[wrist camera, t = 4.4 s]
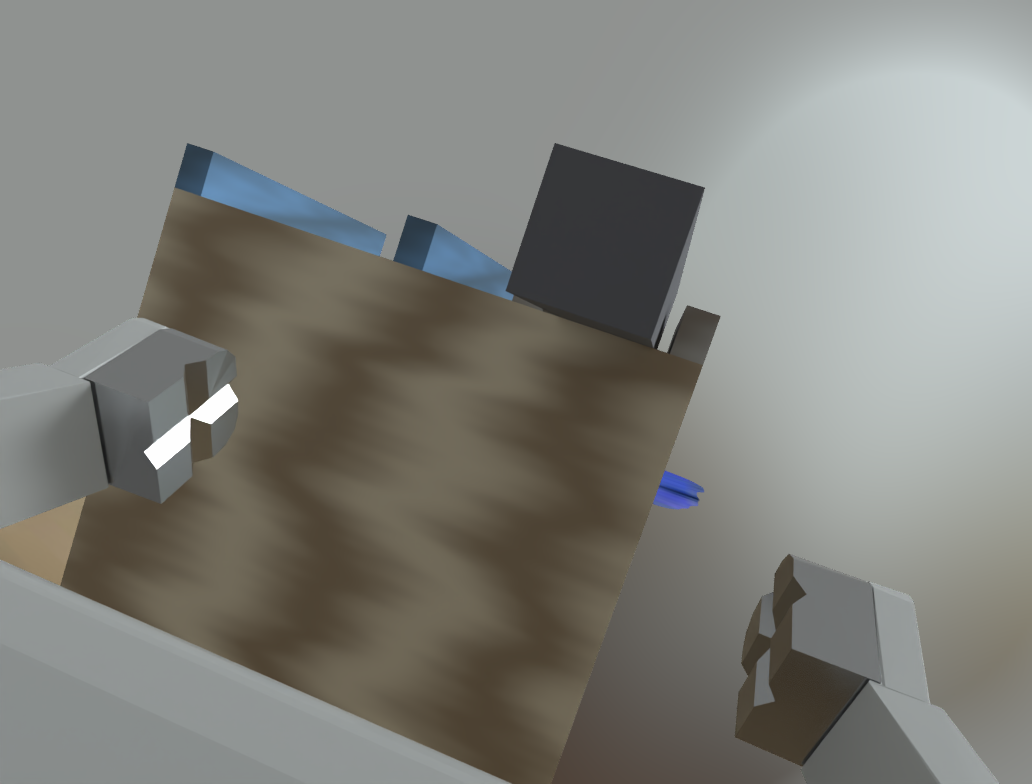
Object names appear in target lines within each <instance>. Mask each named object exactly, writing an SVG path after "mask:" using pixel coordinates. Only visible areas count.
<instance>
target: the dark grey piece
mask: <svg viewBox="0 0 1032 784" xmlns="http://www.w3.org/2000/svg"><path fill="white" fill-rule="evenodd" d="M704 189H705V188H704V187H701V186H697V185H694V184H691V183H687V182H684V181H681V180H677V179H674V178H670V177H667V176H664V175H660V174H657V173H654V172H650V171H647V170H644V169H640V168H637V167H634V166H630V165H627V164H623V163H620V162H617V161H613V160H610V159H607V158H603V157H600V156H596V155H593V154H590V153H586V152H583V151H579V150H576V149H573V148H570V147H566V146H563V145H559V144H556V143H555V144H554V147H553V150H552V153H551V156H550V160H549V162H548V165H547V168H546V171H545V174H544V177H543V180H542V183H541V186H540V189H539V192H538V195H537V198H536V201H535V204H534V207H533V210H532V213H531V216H530V219H529V222H528V225H527V228H526V231H525V234H524V237H523V240H522V243H521V246H520V249H519V252H518V255H517V258H516V261H515V264H514V267H513V270H512V273H511V276H510V279H509V282H508V285H507V288H506V292H509V293H511V294H513V295H515V296H517V297H519V298H521V299H523V300H525V301H527V302H529V303H531V304H533V305H535V306H538V307H540V308H542V309H544V310H546V311H548V312H550V313H552V314H554V315H556V316H558V317H561V318H564V319H567V320H570V321H573V322H576V323H579V324H582V325H585V326H588V327H591V328H594V329H597V330H600V331H603V332H606V333H609V334H612V335H615V336H618V337H621V338H624V339H627V340H630V341H633V342H636V343H639V344H642V345H644V346H647V347H650V348H653V349H656V350H657V348H658V345H659V342H660V340H661V337H662V334H663V331H664V328H665V326H666V323H667V320H668V317H669V314H670V312H671V309H672V306H673V303H674V300H675V298H676V294H677V291H678V288H679V284H680V280H681V277H682V273H683V269H684V265H685V261H686V258H687V253H688V250H689V246H690V242H691V239H692V235H693V231H694V227H695V223H696V220H697V216H698V212H699V208H700V204H701V201H702V197H703V193H704Z"/></svg>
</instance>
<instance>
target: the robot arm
mask: <svg viewBox="0 0 1032 784" xmlns="http://www.w3.org/2000/svg"><path fill="white" fill-rule="evenodd" d="M236 376H237V370H236V359H235V356H234V355H233V354H232V353H230V352H229V351H228V350H226V349H223V348H221V347H218V346H216V345H213V344H211V343H208V342H206V341H203V340H200V339H198V338H195V337H193V336H190V335H188V334H185V333H183V332H180V331H177V330H175V329H172V328H168V327H166V326H163V325H160V324H158V323H155V322H153V321H150V320H148V319H145V318H131V319H129V320H127V321H125V322H124V323H122V324H120V325H119V326H117V327H115V328H114V329H112V330H110V331H108V332H107V333H105V334H103V335H102V336H100V337H98V338H96V339H95V340H93V341H91V342H90V343H88V344H86V345H84V346H83V347H81V348H79V349H77V350H76V351H74V352H73V353H71V354H69V355H68V356H66V357H64V358H62V359H61V360H59V361H57V362H55V363H54V364H52V365H50V366H48V365H45V364H42V363H36V364H29V365H23V366H17V367H11V368H5V369H0V529H1V528H4V527H6V526H9V525H12V524H14V523H17V522H20V521H22V520H25V519H27V518H30V517H33V516H35V515H38V514H41V513H43V512H46V511H48V510H51V509H54V508H56V507H59V506H62V505H64V504H67V503H69V502H72V501H75V500H77V499H80V498H83V497H85V496H88V495H90V494H93V493H96V492H98V491H101V490H104V489H106V488H108V487H109V485H112V486H114V487H117V488H120V489H122V490H125V491H128V492H130V493H133V494H136V495H138V496H141V497H144V498H147V499H149V500H152V501H155V502H157V503H160V504H162V503H163V502H164V501H165V500H166V499H167V498H168V497H169V496H171V495H172V494H173V493H174V492H175V491H176V490H177V489H178V488H179V487H181V486H182V485H183V484H184V483H185V482H186V481H187V480H188V479H190V478H191V477H192V476H193V463H195V462H199V461H202V460H206V459H209V458H213V457H214V456H215V455H216V454H217V453H218V452H219V451H220V450H221V449H222V448H223V447H224V446H225V445H226V443H227V442H228V440H229V438H230V436H231V435H232V433H233V431H234V429H235V426H236V422H237V417H238V400H237V398H236V396H235V395H234V393H233V391H232V390H231V388H230V386H229V385H228V384H229V383H230V382H231V381H232V380H233V379H234V378H235V377H236ZM108 484H109V485H108ZM741 664H742V666H743V668H744V669H745V671H746V673H747V675H748V677H747V679H746V681H745V682H744V684H743V686H742V688H741V689H740V691H739V694H738V706H737V718H736V729H735V737H736V738H738V739H740V740H743V741H745V742H747V743H749V744H752V745H754V746H756V747H758V748H761V749H763V750H765V751H768V752H770V753H772V754H775V755H777V756H779V757H782V758H784V759H786V760H788V761H791V762H793V763H795V764H797V765H800V766H802V768H801V771H802V774H803V776H804V778H805V781H806V783H807V784H999V782H998V781H997V780H996V778H995V777H994V776H993V774H992V773H991V772H990V770H989V769H988V768H987V767H986V765H985V764H984V762H983V761H982V760H981V759H980V757H979V756H978V755H977V753H976V752H975V751H974V749H973V748H972V747H971V745H970V744H969V743H968V741H967V740H966V739H965V738H964V736H963V735H962V734H961V732H960V731H959V730H958V728H957V727H956V726H955V725H954V723H953V722H952V720H951V719H950V718H949V716H948V715H947V714H946V712H945V711H944V710H943V708H940V707H937V706H935V705H932V704H930V700H929V694H928V688H927V682H926V675H925V669H924V662H923V657H922V650H921V644H920V638H919V631H918V625H917V619H916V612H915V606H914V601H913V600H912V599H911V597H910V596H909V595H907V594H904V593H902V592H899V591H896V590H893V589H890V588H887V587H884V586H881V585H878V584H875V583H872V582H869V581H868V582H866V581H864V580H861V579H858V578H855V577H852V576H850V575H847V574H844V573H841V572H838V571H836V570H833V569H830V568H827V567H825V566H822V565H819V564H816V563H813V562H810V561H808V560H805V559H802V558H799V557H796V556H794V555H791V554H789V555H788V556H787V557H786V558H785V559H784V560H783V561H782V562H781V564H780V566H779V567H778V569H777V571H776V573H775V578H774V592H772V593H770V594H767V595H764V596H762V597H761V599H760V601H759V603H758V605H757V607H756V609H755V611H754V612H753V615H752V618H751V621H750V623H749V626H748V629H747V632H746V636H745V641H744V646H743V653H742V662H741ZM0 784H512V783H509V782H507V781H505V780H502V779H500V778H498V777H495V776H493V775H491V774H489V773H486V772H484V771H482V770H479V769H477V768H475V767H473V766H470V765H468V764H466V763H463V762H461V761H459V760H456V759H454V758H452V757H450V756H447V755H445V754H443V753H440V752H438V751H436V750H434V749H431V748H429V747H427V746H424V745H422V744H420V743H417V742H415V741H413V740H411V739H408V738H406V737H404V736H401V735H399V734H397V733H395V732H392V731H390V730H388V729H385V728H383V727H381V726H379V725H376V724H374V723H372V722H369V721H367V720H365V719H363V718H360V717H358V716H356V715H354V714H351V713H349V712H347V711H344V710H342V709H340V708H338V707H335V706H333V705H331V704H328V703H326V702H324V701H322V700H319V699H317V698H315V697H312V696H310V695H308V694H306V693H303V692H301V691H299V690H297V689H294V688H292V687H290V686H287V685H285V684H283V683H281V682H278V681H276V680H274V679H271V678H269V677H267V676H265V675H262V674H260V673H258V672H256V671H253V670H251V669H249V668H246V667H244V666H242V665H240V664H237V663H235V662H233V661H230V660H228V659H226V658H224V657H221V656H219V655H217V654H214V653H212V652H210V651H208V650H205V649H203V648H201V647H199V646H196V645H194V644H192V643H189V642H187V641H185V640H183V639H180V638H178V637H176V636H173V635H171V634H169V633H167V632H164V631H162V630H160V629H157V628H155V627H153V626H151V625H148V624H146V623H144V622H141V621H139V620H137V619H135V618H132V617H130V616H128V615H125V614H123V613H121V612H119V611H116V610H114V609H112V608H109V607H107V606H105V605H103V604H100V603H98V602H96V601H93V600H91V599H89V598H87V597H84V596H82V595H80V594H77V593H75V592H73V591H71V590H68V589H66V588H64V587H62V586H59V585H57V584H55V583H52V582H50V581H48V580H46V579H43V578H41V577H39V576H36V575H34V574H32V573H30V572H27V571H25V570H23V569H20V568H18V567H16V566H14V565H11V564H9V563H7V562H4V561H2V560H0Z"/></svg>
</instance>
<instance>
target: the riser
mask: <svg viewBox="0 0 1032 784" xmlns="http://www.w3.org/2000/svg"><path fill="white" fill-rule="evenodd" d="M385 238H386V234H384V233H382V232H380V231H378V230H376V229H373V228H371V227H369V226H367V225H365V224H363V223H361V222H359V221H357V220H355V219H353V218H351V217H349V216H347V215H345V214H342V213H340V212H338V211H336V210H334V209H332V208H330V207H328V206H326V205H323V204H322V203H319V202H317V201H315V200H313V199H311V198H309V197H307V196H305V195H303V194H300V193H299V192H297V191H294V190H292V189H290V188H288V187H286V186H284V185H282V184H280V183H278V182H275V181H274V180H271V179H269V178H267V177H265V176H263V175H261V174H259V173H257V172H255V171H253V170H250V169H249V168H246V167H244V166H242V165H240V164H238V163H236V162H234V161H232V160H230V159H228V158H226V157H223V156H221V155H219V154H217V153H215V152H213V151H210V150H207V149H203V148H200V147H197V146H194V145H191V144H187V146H186V150H185V153H184V157H183V160H182V164H181V168H180V171H179V175H178V178H177V181H176V185H175V188H174V192H173V195H172V198H171V202H170V206H169V209H168V212H167V216H166V220H165V223H164V226H163V230H162V233H161V237H160V240H159V244H158V248H157V251H156V255H155V258H154V261H153V265H152V268H151V272H150V275H149V279H148V282H147V286H146V290H145V293H144V296H143V300H142V303H141V307H140V310H139V314H138V317H137V318H145V319H148V320H150V321H153V322H155V323H158V324H160V325H163V326H166V327H168V328H172V329H175V330H177V331H180V332H183V333H185V334H188V335H190V336H193V337H195V338H198V339H200V340H203V341H206V342H208V343H211V344H213V345H216V346H218V347H221V348H223V349H226V350H228V351H229V352H230V353H232V354H233V355H234V356H235V359H236V370H237V376H236V377H235V378H234V379H233V380H232V381H231V382H230V383H229V384H228V385H229V386H230V388H231V390H232V391H233V393H234V395H235V396H236V398H237V400H238V417H237V422H236V426H235V429H234V431H233V433H232V435H231V436H230V438H229V440H228V442H227V443H226V445H225V446H224V447H223V448H222V449H221V450H220V451H219V452H218V453H217V454H216V455H215V456H214V457H213V458H209V459H206V460H202V461H199V462H195V463H193V476H192V477H191V478H190V479H188V480H187V481H186V482H185V483H184V484H183V485H182V486H181V487H179V488H178V489H177V490H176V491H175V492H174V493H173V494H172V495H171V496H169V497H168V498H167V499H166V500H165V501H164V502H163V503H162V504H160V503H157V502H155V501H152V500H149V499H147V498H144V497H141V496H138V495H136V494H133V493H130V492H128V491H125V490H122V489H120V488H117V487H114V486H112V485H109V484H108V485H109V487H108V488H106V489H104V490H101V491H98V492H96V493H93V494H90V495H88V496H86V498H85V502H84V505H83V509H82V512H81V516H80V519H79V523H78V526H77V530H76V533H75V537H74V540H73V543H72V547H71V550H70V554H69V557H68V561H67V564H66V568H65V571H64V575H63V578H62V582H61V585H60V586H62V587H64V588H66V589H68V590H71V591H73V592H75V593H77V594H80V595H82V596H84V597H87V598H89V599H91V600H93V601H96V602H98V603H100V604H103V605H105V606H107V607H109V608H112V609H114V610H116V611H119V612H121V613H123V614H125V615H128V616H130V617H132V618H135V619H137V620H139V621H141V622H144V623H146V624H148V625H151V626H153V627H155V628H157V629H160V630H162V631H164V632H167V633H169V634H171V635H173V636H176V637H178V638H180V639H183V640H185V641H187V642H189V643H192V644H194V645H196V646H199V647H201V648H203V649H205V650H208V651H210V652H212V653H214V654H217V655H219V656H221V657H224V658H226V659H228V660H230V661H233V662H235V663H237V664H240V665H242V666H244V667H246V668H249V669H251V670H253V671H256V672H258V673H260V674H262V675H265V676H267V677H269V678H271V679H274V680H276V681H278V682H281V683H283V684H285V685H287V686H290V687H292V688H294V689H297V690H299V691H301V692H303V693H306V694H308V695H310V696H312V697H315V698H317V699H319V700H322V701H324V702H326V703H328V704H331V705H333V706H335V707H338V708H340V709H342V710H344V711H347V712H349V713H351V714H354V715H356V716H358V717H360V718H363V719H365V720H367V721H369V722H372V723H374V724H376V725H379V726H381V727H383V728H385V729H388V730H390V731H392V732H395V733H397V734H399V735H401V736H404V737H406V738H408V739H411V740H413V741H415V742H417V743H420V744H422V745H424V746H427V747H429V748H431V749H434V750H436V751H438V752H440V753H443V754H445V755H447V756H450V757H452V758H454V759H456V760H459V761H461V762H463V763H466V764H468V765H470V766H473V767H475V768H477V769H479V770H482V771H484V772H486V773H489V774H491V775H493V776H495V777H498V778H500V779H502V780H505V781H507V782H509V783H512V784H551V782H552V779H553V777H554V774H555V771H556V768H557V765H558V763H559V760H560V757H561V754H562V752H563V749H564V746H565V743H566V741H567V738H568V735H569V732H570V729H571V727H572V724H573V721H574V718H575V716H576V713H577V710H578V708H579V705H580V702H581V699H582V697H583V694H584V691H585V688H586V685H587V683H588V680H589V677H590V674H591V672H592V669H593V666H594V664H595V661H596V658H597V655H598V653H599V650H600V647H601V644H602V641H603V639H604V636H605V633H606V630H607V628H608V625H609V622H610V619H611V617H612V614H613V611H614V608H615V606H616V603H617V600H618V597H619V594H620V591H621V589H622V586H623V584H624V581H625V578H626V575H627V573H628V570H629V567H630V564H631V561H632V559H633V556H634V553H635V551H636V548H637V545H638V542H639V540H640V537H641V534H642V531H643V528H644V526H645V523H646V520H647V518H648V515H649V512H650V509H651V506H652V504H653V501H654V498H655V496H656V493H657V490H658V487H659V484H660V482H661V479H662V476H663V473H664V471H665V468H666V465H667V462H668V459H669V457H670V454H671V451H672V448H673V446H674V443H675V440H676V438H677V435H678V432H679V429H680V427H681V424H682V421H683V418H684V416H685V413H686V410H687V407H688V405H689V402H690V399H691V396H692V394H693V391H694V388H695V385H696V383H697V380H698V377H699V374H700V372H701V369H702V366H703V363H704V360H705V358H706V355H707V352H708V350H709V347H710V344H711V341H712V338H713V336H714V333H715V330H716V327H717V324H718V322H719V319H720V316H719V315H715V314H712V313H709V312H706V311H703V310H700V309H697V308H694V307H691V306H687V307H686V309H685V311H684V313H683V315H682V317H681V319H680V322H679V323H678V325H677V327H676V330H675V332H674V335H673V338H672V340H671V343H670V346H669V349H668V352H667V353H665V352H662V351H659V350H656V349H653V348H650V347H647V346H644V345H642V344H639V343H636V342H633V341H630V340H627V339H624V338H621V337H618V336H615V335H612V334H609V333H606V332H603V331H600V330H597V329H594V328H591V327H588V326H585V325H582V324H579V323H576V322H573V321H570V320H567V319H564V318H561V317H558V316H556V315H554V314H552V313H550V312H548V311H546V310H544V309H542V308H540V307H538V306H535V305H533V304H531V303H529V302H527V301H525V300H523V299H521V298H519V297H517V296H515V295H513V294H511V293H509V292H506V288H507V285H508V282H509V279H510V276H511V273H512V272H511V271H510V270H508V269H507V268H505V267H504V266H502V265H500V264H499V263H497V262H495V261H494V260H493V259H491V258H489V257H488V256H486V255H485V254H483V253H482V252H480V251H478V250H477V249H475V248H474V247H472V246H471V245H469V244H467V243H466V242H464V241H463V240H461V239H460V238H458V237H456V236H455V235H453V234H452V233H450V232H448V231H447V230H445V229H444V228H442V227H441V226H439V225H438V224H435V223H431V222H429V221H425V220H423V219H419V218H416V217H413V216H410V215H408V216H407V220H406V223H405V226H404V229H403V232H402V235H401V238H400V242H399V245H398V248H397V251H396V254H395V257H394V260H393V261H392V260H389V259H386V258H383V257H380V254H381V251H382V247H383V244H384V241H385Z"/></svg>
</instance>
